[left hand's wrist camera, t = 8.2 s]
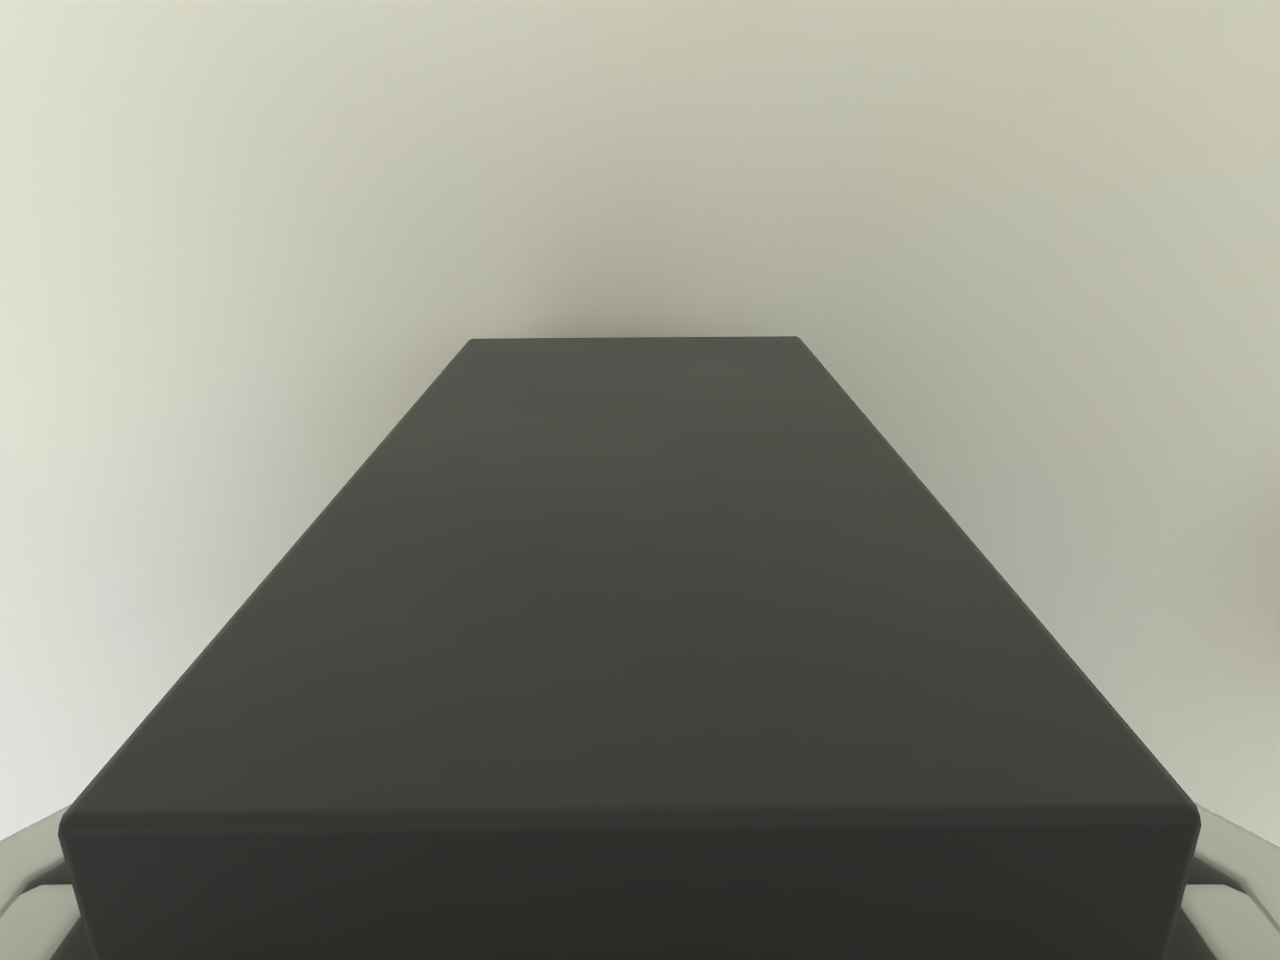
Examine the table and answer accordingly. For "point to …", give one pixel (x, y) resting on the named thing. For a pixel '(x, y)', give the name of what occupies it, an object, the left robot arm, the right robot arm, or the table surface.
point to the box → (632, 704)
